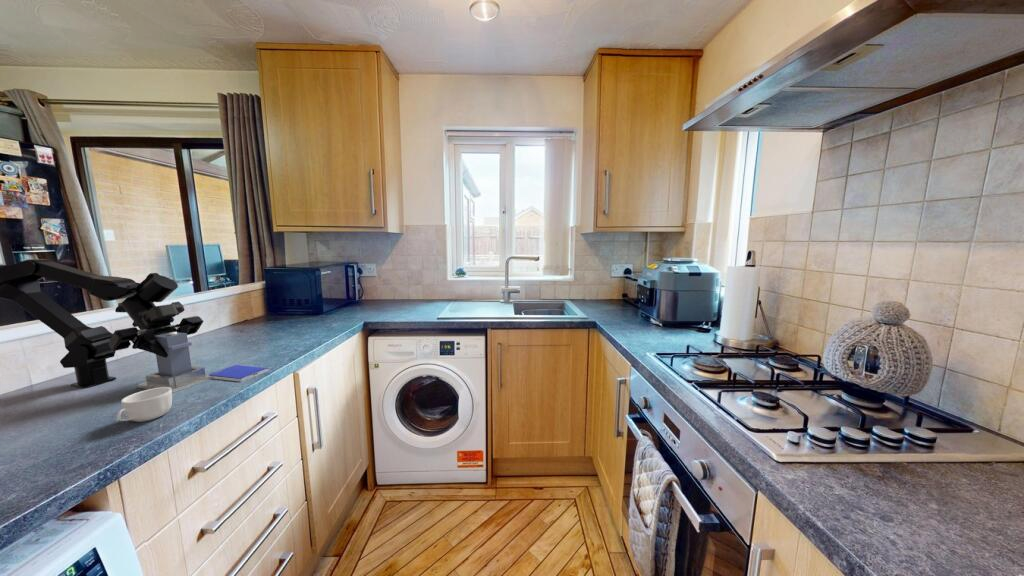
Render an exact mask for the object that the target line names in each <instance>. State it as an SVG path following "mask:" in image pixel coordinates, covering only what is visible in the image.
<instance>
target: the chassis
mask: <svg viewBox="0 0 1024 576" xmlns="http://www.w3.org/2000/svg"><path fill="white" fill-rule="evenodd" d="M191 368H192V371H189V372H186V373H183V374H180V375H176V376H173V377H169V376H162V375H159V371H157V372H153V373H149V374H147V375H145V382H141V383H139V384H137V388H139V389H140V388H141V389H145V390H148V389H153V388H160V387H170V388H171V389H172V394H173V393H177V392H179V391H181V390H184V389H187V388H191V387H193V386H196V385H199V384H202V383H205V382H207V381H211V380H214V377H213V376H210V375H209V374H208V373H207V374H206V371H205V370H206V369H205V367H202V366H201V367H200V366H194V365H191Z"/></svg>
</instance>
